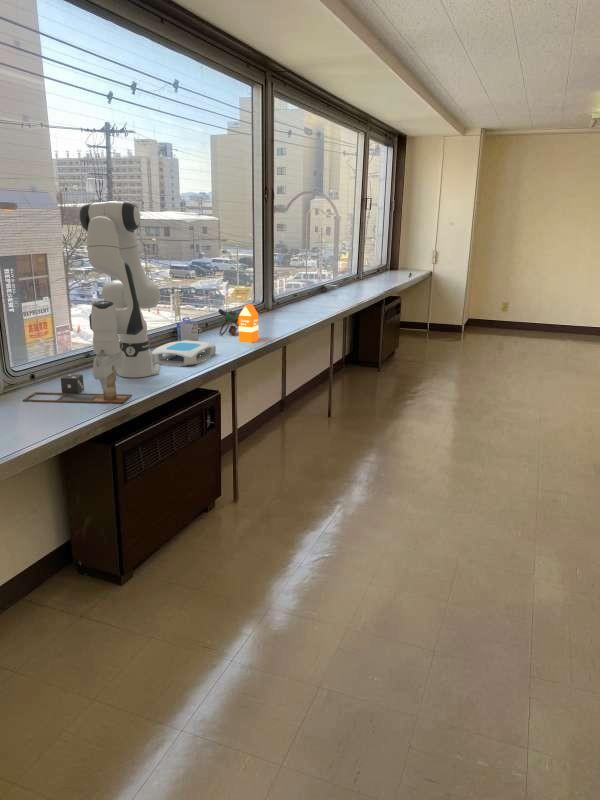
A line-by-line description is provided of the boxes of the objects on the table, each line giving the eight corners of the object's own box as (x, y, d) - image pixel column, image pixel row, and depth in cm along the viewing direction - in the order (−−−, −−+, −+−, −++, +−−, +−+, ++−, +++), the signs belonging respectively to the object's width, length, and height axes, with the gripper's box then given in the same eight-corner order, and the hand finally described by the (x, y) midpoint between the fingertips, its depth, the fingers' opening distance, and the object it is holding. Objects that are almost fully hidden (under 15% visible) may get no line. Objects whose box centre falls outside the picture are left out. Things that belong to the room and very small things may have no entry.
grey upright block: (194, 343, 314) (193, 316, 310) (199, 345, 310) (198, 317, 305) (177, 345, 308) (176, 317, 304) (181, 347, 304) (180, 319, 300)
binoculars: (231, 343, 334) (245, 320, 332) (210, 330, 329) (223, 307, 327) (228, 338, 347) (241, 316, 345) (208, 326, 342) (221, 303, 340)
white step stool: (149, 364, 270) (148, 350, 268) (177, 351, 296) (176, 339, 294) (191, 367, 265) (191, 354, 263) (216, 354, 291) (216, 342, 289)
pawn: (106, 396, 219) (102, 360, 215) (118, 396, 219) (116, 360, 215) (101, 400, 214) (98, 363, 210) (114, 400, 214) (111, 363, 210)
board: (35, 393, 222) (35, 392, 221) (131, 395, 221) (131, 394, 221) (22, 401, 212) (22, 400, 212) (123, 403, 212) (123, 402, 211)
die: (68, 389, 228) (67, 373, 226) (84, 389, 228) (82, 374, 226) (62, 393, 222) (60, 377, 221) (78, 394, 222) (76, 378, 220)
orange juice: (238, 342, 320) (238, 304, 314) (245, 339, 328) (245, 302, 322) (251, 343, 318) (251, 305, 312) (258, 340, 326) (258, 303, 320)
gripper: (105, 354, 201) (108, 393, 205) (123, 342, 220) (126, 378, 224) (86, 353, 201) (90, 393, 205) (107, 341, 220) (109, 377, 225)
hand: (109, 385), depth 215 cm, fingers open, 8 cm apart
